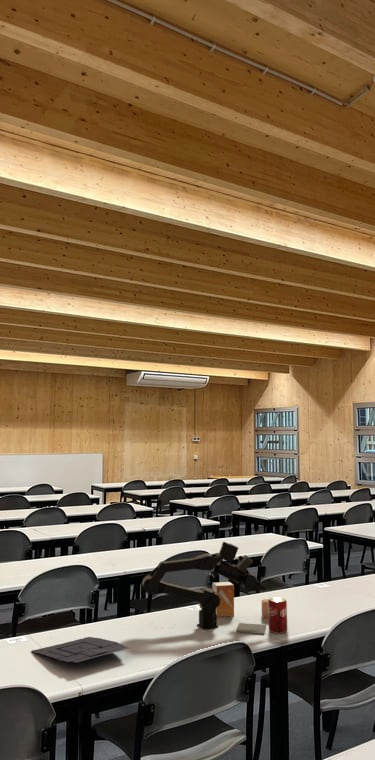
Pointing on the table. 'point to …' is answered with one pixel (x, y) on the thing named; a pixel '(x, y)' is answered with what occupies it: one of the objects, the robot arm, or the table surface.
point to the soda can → (277, 615)
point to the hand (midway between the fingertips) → (262, 586)
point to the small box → (224, 598)
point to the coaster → (251, 628)
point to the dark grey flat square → (81, 649)
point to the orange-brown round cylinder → (265, 609)
